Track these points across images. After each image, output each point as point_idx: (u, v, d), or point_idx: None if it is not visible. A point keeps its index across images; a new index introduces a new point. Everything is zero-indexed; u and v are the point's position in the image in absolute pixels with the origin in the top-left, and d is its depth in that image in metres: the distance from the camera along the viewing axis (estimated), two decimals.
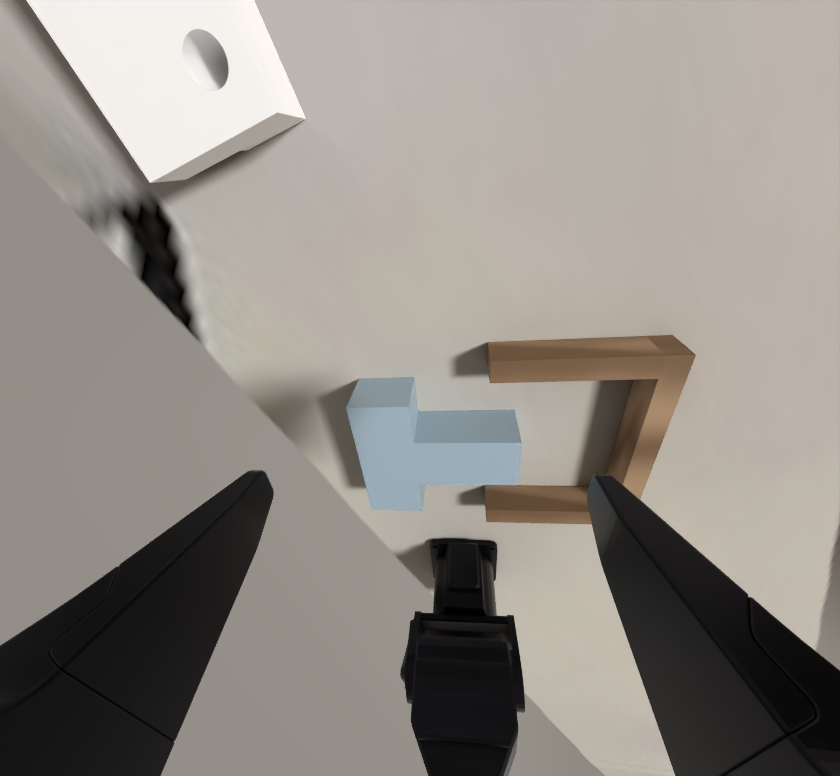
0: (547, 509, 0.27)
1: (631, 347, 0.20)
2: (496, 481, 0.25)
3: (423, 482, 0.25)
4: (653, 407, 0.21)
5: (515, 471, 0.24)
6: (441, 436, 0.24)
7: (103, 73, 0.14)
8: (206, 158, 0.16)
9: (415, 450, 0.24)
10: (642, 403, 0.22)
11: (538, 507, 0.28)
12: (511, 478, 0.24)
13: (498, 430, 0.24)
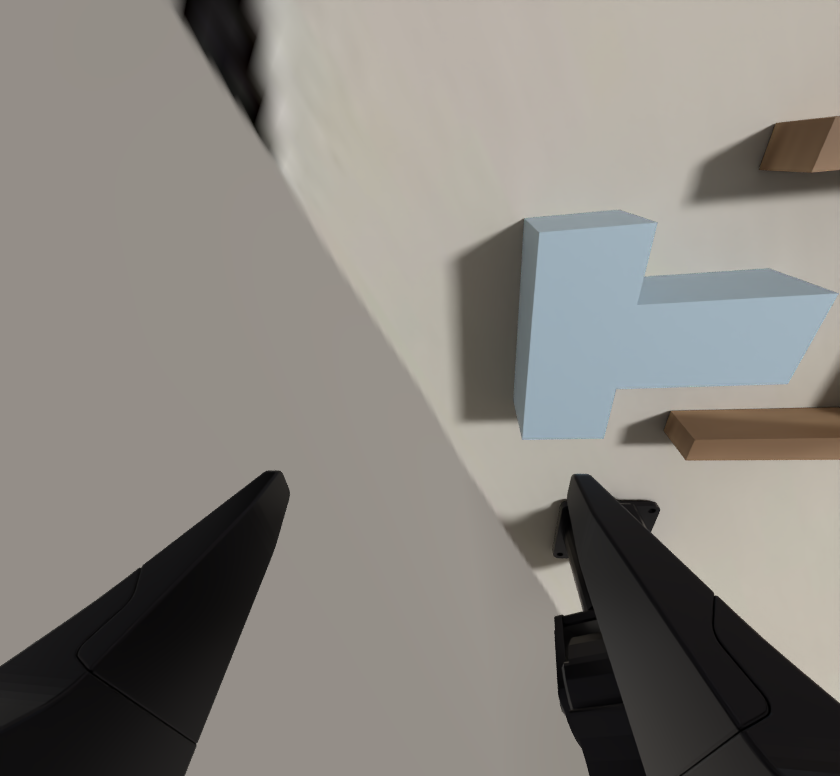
0: (792, 436, 0.18)
1: None
2: (753, 377, 0.15)
3: (625, 385, 0.16)
4: None
5: (796, 356, 0.14)
6: (678, 296, 0.14)
7: None
8: None
9: (635, 320, 0.14)
10: None
11: (776, 434, 0.18)
12: (782, 371, 0.15)
13: (773, 285, 0.14)
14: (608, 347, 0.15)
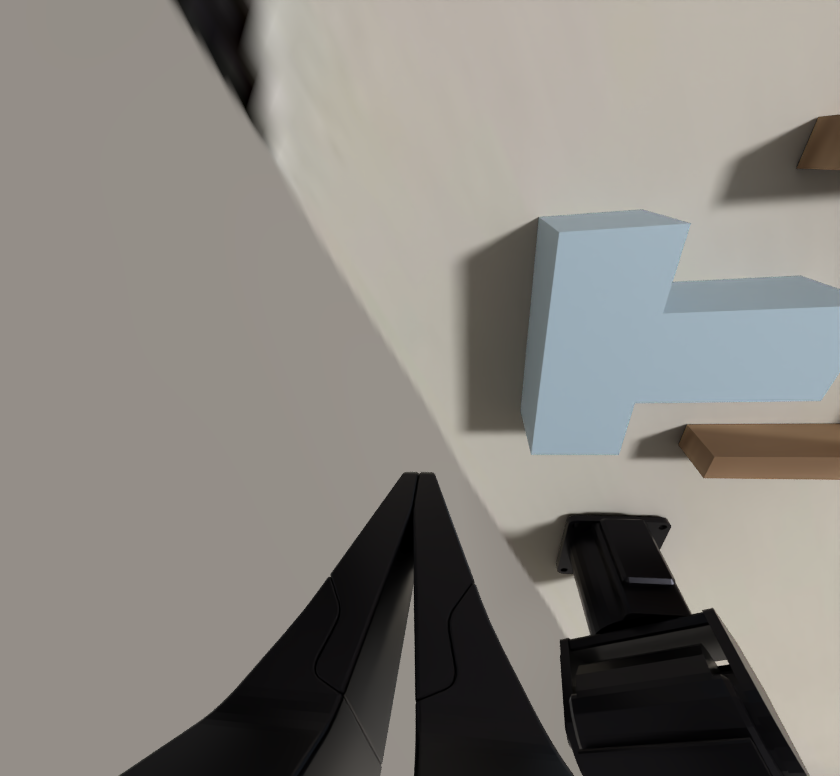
0: (818, 455, 0.17)
1: None
2: (784, 393, 0.14)
3: (645, 399, 0.15)
4: None
5: (832, 371, 0.13)
6: (706, 304, 0.13)
7: None
8: None
9: (659, 330, 0.13)
10: None
11: (801, 452, 0.17)
12: (816, 386, 0.14)
13: (809, 294, 0.13)
14: (629, 358, 0.14)
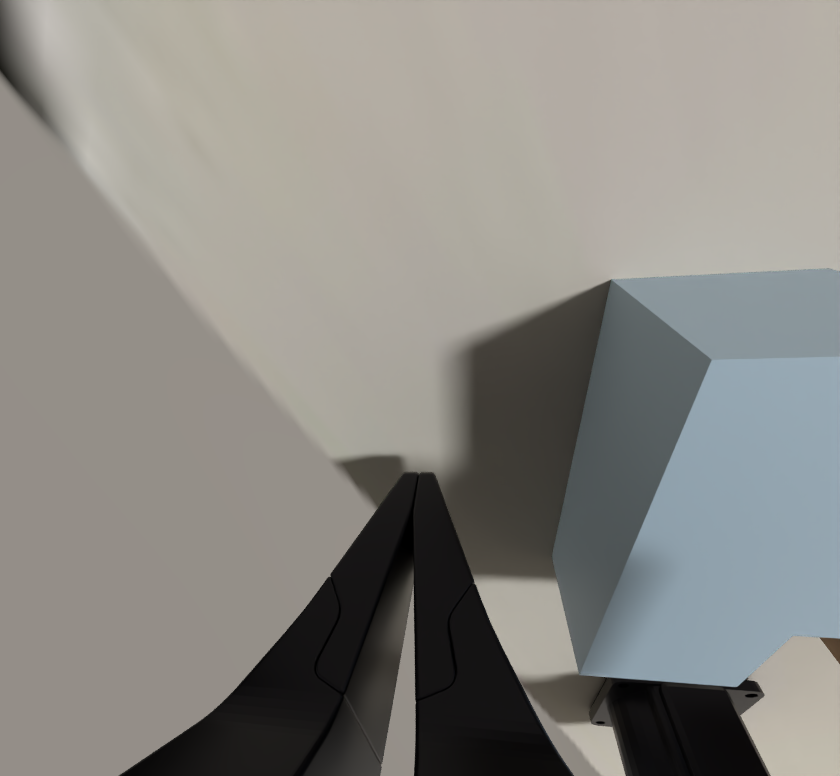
0: None
1: None
2: None
3: (816, 632, 0.08)
4: None
5: None
6: None
7: None
8: None
9: None
10: None
11: None
12: None
13: None
14: (806, 581, 0.07)
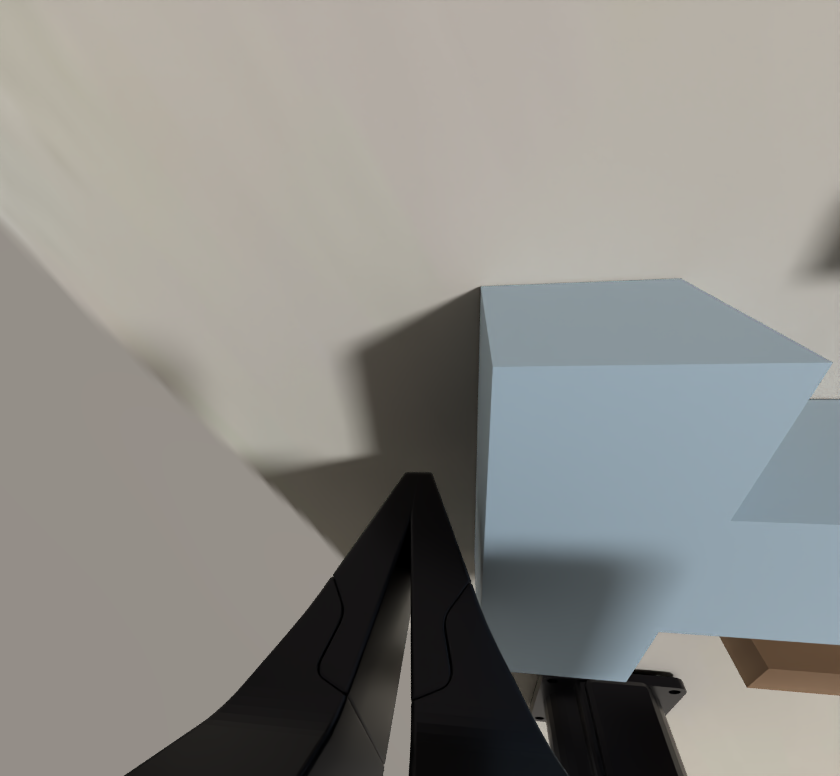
0: None
1: None
2: None
3: (678, 629, 0.08)
4: None
5: None
6: (820, 492, 0.06)
7: None
8: None
9: (720, 544, 0.06)
10: None
11: None
12: None
13: None
14: (651, 578, 0.07)
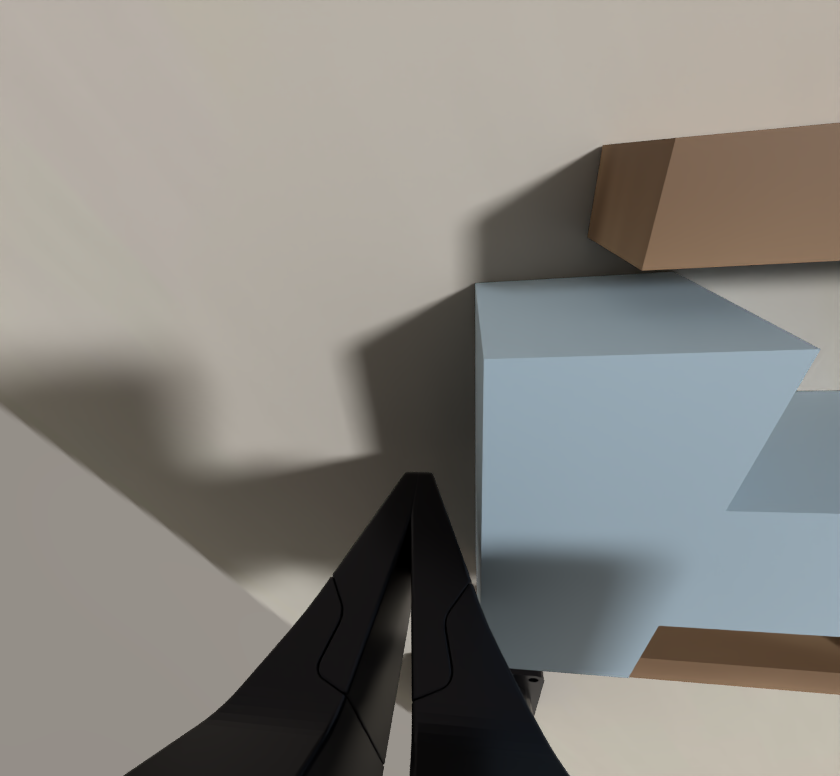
0: (699, 656, 0.11)
1: None
2: None
3: (678, 622, 0.08)
4: None
5: None
6: (816, 482, 0.06)
7: None
8: None
9: (716, 535, 0.06)
10: None
11: (675, 649, 0.11)
12: None
13: None
14: (649, 571, 0.07)
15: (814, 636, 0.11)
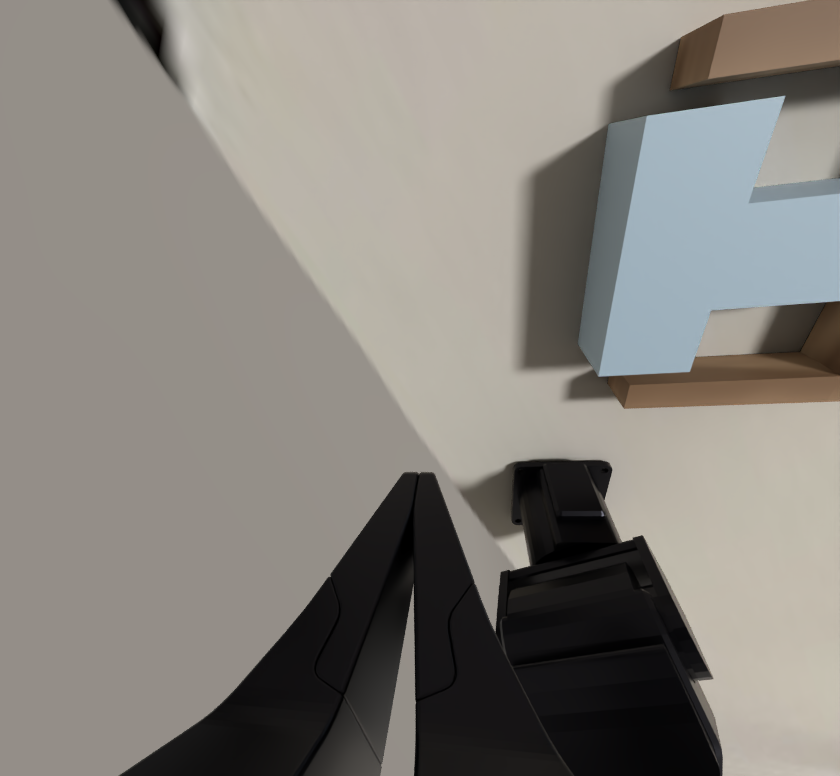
0: (728, 379, 0.18)
1: None
2: None
3: (722, 305, 0.15)
4: None
5: None
6: (791, 195, 0.13)
7: None
8: None
9: (743, 223, 0.13)
10: None
11: (712, 378, 0.18)
12: None
13: None
14: (708, 258, 0.14)
15: (800, 367, 0.18)
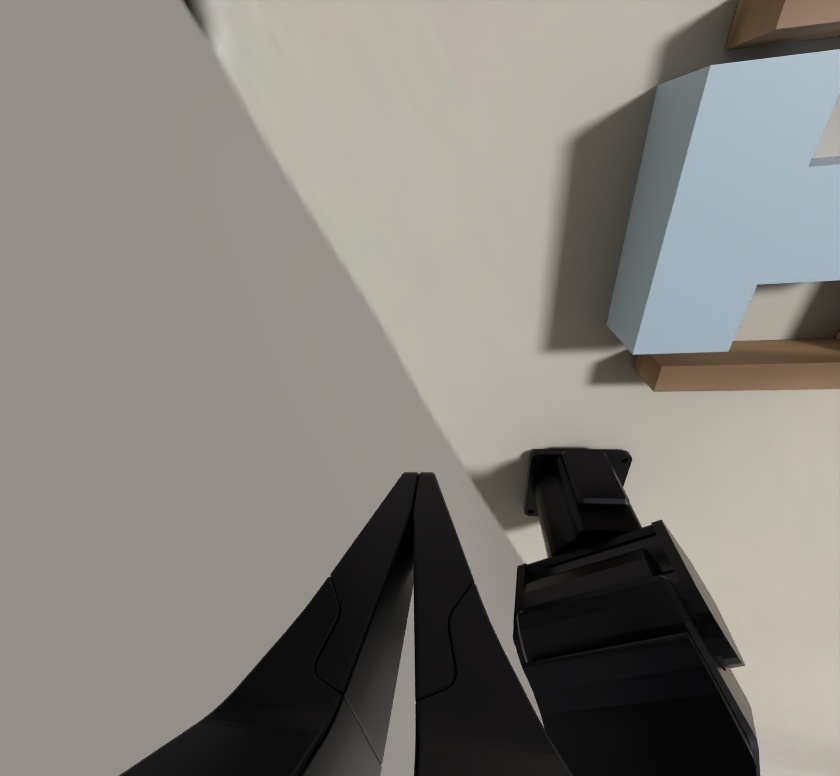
0: (764, 362, 0.17)
1: None
2: None
3: (769, 279, 0.14)
4: None
5: None
6: None
7: None
8: None
9: (801, 189, 0.12)
10: None
11: (748, 361, 0.17)
12: None
13: None
14: (760, 227, 0.13)
15: (837, 352, 0.17)
